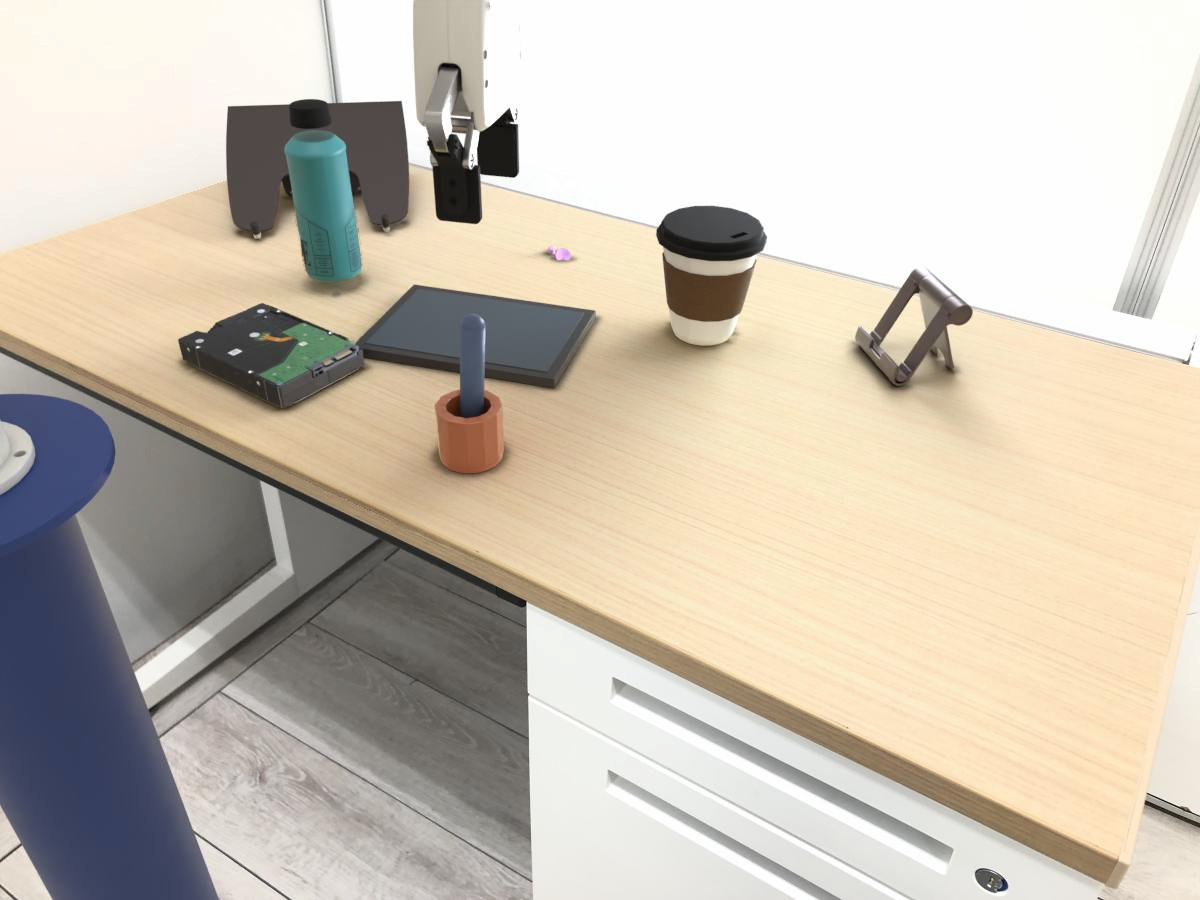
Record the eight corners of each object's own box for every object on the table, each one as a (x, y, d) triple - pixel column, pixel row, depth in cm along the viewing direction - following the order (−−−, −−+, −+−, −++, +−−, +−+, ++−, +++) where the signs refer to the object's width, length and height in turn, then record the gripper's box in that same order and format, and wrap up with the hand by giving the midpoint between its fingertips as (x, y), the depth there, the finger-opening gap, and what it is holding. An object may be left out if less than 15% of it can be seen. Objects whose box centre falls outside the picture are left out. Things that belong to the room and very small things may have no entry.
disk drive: (181, 365, 93) (284, 412, 86) (174, 339, 91) (278, 385, 85) (266, 325, 100) (368, 366, 93) (261, 300, 99) (364, 340, 92)
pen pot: (490, 478, 79) (487, 428, 76) (429, 467, 80) (424, 417, 77) (512, 442, 83) (510, 394, 80) (454, 432, 84) (450, 384, 82)
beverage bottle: (376, 282, 109) (355, 102, 97) (327, 301, 105) (299, 114, 93) (342, 265, 112) (317, 89, 101) (293, 283, 108) (262, 101, 97)
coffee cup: (775, 337, 100) (791, 228, 94) (700, 368, 95) (711, 255, 88) (703, 299, 107) (713, 195, 100) (629, 326, 102) (634, 218, 95)
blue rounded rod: (478, 456, 80) (480, 319, 75) (455, 452, 81) (456, 316, 76) (486, 447, 82) (489, 312, 77) (464, 443, 82) (465, 309, 77)
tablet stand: (852, 343, 100) (867, 269, 95) (921, 338, 101) (939, 264, 96) (890, 387, 93) (908, 309, 88) (964, 380, 94) (986, 303, 89)
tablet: (554, 388, 91) (554, 378, 90) (352, 355, 95) (351, 346, 94) (595, 318, 103) (595, 309, 102) (414, 292, 107) (413, 283, 106)
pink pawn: (565, 270, 117) (573, 258, 117) (565, 265, 115) (573, 253, 115) (544, 257, 117) (553, 245, 117) (544, 251, 115) (552, 240, 116)
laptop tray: (237, 276, 123) (220, 227, 115) (238, 145, 133) (223, 92, 125) (419, 265, 127) (415, 217, 119) (406, 139, 137) (401, 87, 129)
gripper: (454, -82, 68) (467, 156, 78) (358, -49, 55) (388, 236, 64) (556, -77, 67) (556, 164, 77) (485, -41, 53) (496, 247, 63)
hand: (480, 196), depth 71 cm, fingers open, 9 cm apart
